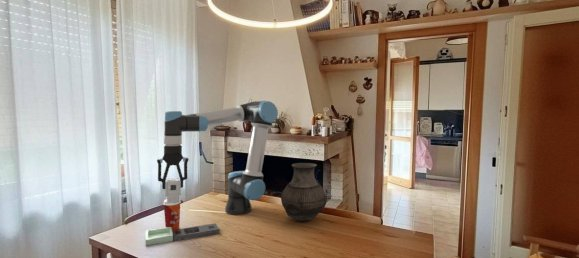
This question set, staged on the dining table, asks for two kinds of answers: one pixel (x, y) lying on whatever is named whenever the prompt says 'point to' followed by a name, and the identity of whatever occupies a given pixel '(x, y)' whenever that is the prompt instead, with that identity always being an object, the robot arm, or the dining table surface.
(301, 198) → the vase
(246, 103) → the robot arm
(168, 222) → the coffee cup
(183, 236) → the rail
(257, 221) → the dining table surface
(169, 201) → the white upright box
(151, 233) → the tray
